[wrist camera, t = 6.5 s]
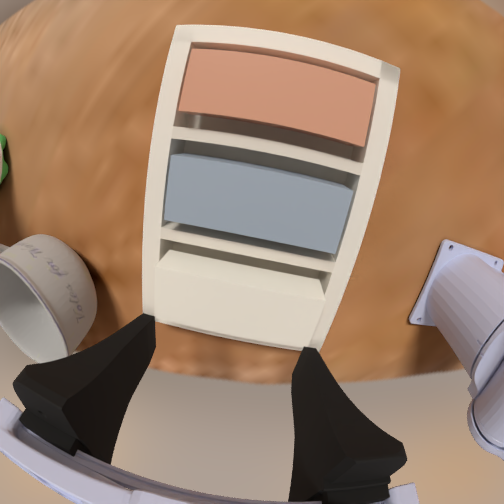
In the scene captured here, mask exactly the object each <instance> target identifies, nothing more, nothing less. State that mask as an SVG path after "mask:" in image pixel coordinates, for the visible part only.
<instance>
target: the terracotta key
mask: <svg viewBox="0 0 504 504" xmlns="http://www.w3.org/2000/svg"><path fill="white" fill-rule="evenodd" d="M375 86H376V84H374V83H371V82H368V81H365V80H362V79H359V78H356V77H353V76H350V75H347V74H344V73H341V72H337V71H334V70H330V69H327V68H323V67H319V66H315V65H311V64H307V63H303V62H298V61H293V60H289V59H283V58H278V57H272V56H266V55H260V54H253V53H245V52H236V51H226V50H212V49H192V51H191V55H190V59H189V63H188V67H187V71H186V76H185V80H184V85H183V90H182V95H181V100H180V105H179V110H178V111H181V112H184V113H188V114H191V115H198V116H207V117H215V118H223V119H230V120H237V121H243V122H249V123H255V124H261V125H266V126H271V127H276V128H281V129H286V130H291V131H295V132H299V133H304V134H308V135H312V136H316V137H320V138H324V139H327V140H331V141H335V142H338V143H342V144H345V145H349V146H357V147H364V145H365V140H366V135H367V130H368V125H369V120H370V115H371V110H372V104H373V98H374V92H375Z"/></svg>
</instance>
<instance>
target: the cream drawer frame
mask: <svg viewBox="0 0 504 504" xmlns="http://www.w3.org/2000/svg"><path fill="white" fill-rule="evenodd" d="M192 49H212V50H226V51H236V52H245V53H253V54H260V55H266V56H272V57H278V58H283V59H289V60H293V61H298V62H303V63H307V64H311V65H315V66H319V67H323V68H327V69H330V70H334V71H337V72H341V73H344V74H347V75H350V76H353V77H356V78H359V79H362V80H365V81H368V82H371V83H374V84H376V86H375V92H374V98H373V104H372V110H371V115H370V120H369V125H368V130H367V135H366V140H365V145H364V147H357V146H349V145H345V144H342V143H338V142H335V141H331V140H327V139H324V138H320V137H316V136H312V135H308V134H304V133H299V132H295V131H291V130H286V129H281V128H276V127H271V126H266V125H261V124H255V123H249V122H243V121H237V120H230V119H223V118H215V117H207V116H198V115H191V114H188V113H184V112H181V111H178V110H179V105H180V100H181V95H182V90H183V85H184V80H185V76H186V71H187V67H188V63H189V59H190V55H191V51H192ZM399 76H400V68H398V67H395V66H393V65H391V64H388V63H386V62H383V61H381V60H378V59H376V58H373V57H370V56H368V55H365V54H362V53H359V52H356V51H353V50H350V49H347V48H343V47H340V46H337V45H333V44H330V43H326V42H322V41H318V40H314V39H310V38H306V37H301V36H296V35H291V34H286V33H281V32H275V31H268V30H261V29H253V28H245V27H234V26H219V25H176V28H175V32H174V35H173V39H172V42H171V46H170V50H169V54H168V58H167V62H166V66H165V70H164V75H163V79H162V84H161V89H160V94H159V99H158V104H157V109H156V115H155V121H154V127H153V134H152V141H151V148H150V156H149V164H148V173H147V183H146V194H145V207H144V223H143V249H142V299H143V313H145V314H148V315H152V316H154V285H155V266H156V265H157V263H158V262H159V261H160V260H161V259H162V258H163V257H164V255H165V254H166V253H167V252H168V251H169V250H174V251H179V252H183V253H188V254H193V255H198V256H203V257H208V258H212V259H217V260H222V261H227V262H232V263H237V264H242V265H247V266H252V267H257V268H262V269H267V270H272V271H277V272H282V273H288V274H293V275H298V276H303V277H308V278H314V279H319V280H320V283H321V286H322V290H323V293H324V296H325V300H326V302H325V304H324V307H323V310H322V312H321V315H320V318H319V320H318V323H317V325H316V328H315V330H314V333H313V335H312V338H311V340H310V343H309V345H308V347H312V348H316V349H317V351H318V352H319V351H320V349H321V347H322V345H323V342H324V340H325V338H326V336H327V333H328V331H329V329H330V326H331V324H332V321H333V319H334V317H335V314H336V312H337V309H338V307H339V304H340V302H341V299H342V296H343V294H344V291H345V288H346V286H347V283H348V280H349V278H350V275H351V272H352V269H353V266H354V264H355V261H356V258H357V255H358V252H359V249H360V246H361V243H362V240H363V236H364V233H365V230H366V227H367V223H368V220H369V217H370V213H371V210H372V206H373V203H374V199H375V196H376V192H377V188H378V184H379V180H380V176H381V172H382V168H383V164H384V160H385V155H386V151H387V146H388V141H389V136H390V131H391V126H392V121H393V115H394V110H395V104H396V97H397V91H398V83H399ZM182 153H190V154H197V155H204V156H211V157H217V158H223V159H230V160H235V161H241V162H247V163H252V164H257V165H263V166H268V167H272V168H277V169H282V170H287V171H291V172H296V173H300V174H304V175H309V176H313V177H317V178H321V179H325V180H329V181H333V182H337V183H340V184H343V185H345V186H346V187H348V188H349V189H351V190H353V195H352V199H351V202H350V206H349V210H348V213H347V217H346V220H345V224H344V227H343V231H342V234H341V237H340V241H339V244H338V247H337V251H336V254H332V253H328V252H323V251H318V250H313V249H309V248H304V247H299V246H294V245H289V244H285V243H280V242H275V241H270V240H265V239H260V238H255V237H250V236H245V235H240V234H235V233H230V232H225V231H220V230H214V229H209V228H204V227H199V226H194V225H188V224H183V223H178V222H173V221H167V220H164V214H165V203H166V193H167V184H168V176H169V168H170V160H171V155H175V154H182ZM155 321H157V322H161V323H165V324H168V325H172V326H176V327H180V328H184V329H188V330H193V331H197V332H201V333H206V334H210V335H215V336H219V337H224V338H229V339H234V340H239V341H244V342H250V343H255V344H261V345H267V346H273V347H279V348H285V349H292V350H299V351H302V350H303V348H300V347H293V346H287V345H280V344H274V343H268V342H262V341H257V340H251V339H246V338H241V337H235V336H230V335H226V334H221V333H216V332H211V331H207V330H202V329H198V328H194V327H190V326H185V325H181V324H177V323H173V322H169V321H166V320H162V319H158V318H155Z"/></svg>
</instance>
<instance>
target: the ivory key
mask: <svg viewBox="0 0 504 504" xmlns="http://www.w3.org/2000/svg"><path fill="white" fill-rule="evenodd" d="M325 302H326V300H325V296H324V293H323V290H322V286H321V283H320V280H319V279H314V278H308V277H303V276H298V275H293V274H288V273H282V272H277V271H272V270H267V269H262V268H257V267H252V266H247V265H242V264H237V263H232V262H227V261H222V260H217V259H212V258H208V257H203V256H198V255H193V254H188V253H183V252H179V251H174V250H169V251H168V252H167V253H166V254H165V255H164V257H163V258H162V259H161V260H160V261H159V262H158V263H157V265H156V266H155V285H154V316H155V318H158V319H162V320H166V321H169V322H173V323H177V324H181V325H185V326H190V327H194V328H198V329H202V330H207V331H211V332H216V333H221V334H226V335H230V336H235V337H241V338H246V339H251V340H257V341H262V342H268V343H274V344H280V345H287V346H293V347H300V348H303V347H308V345H309V343H310V340H311V338H312V335H313V333H314V330H315V328H316V325H317V323H318V320H319V318H320V315H321V312H322V310H323V307H324V304H325Z"/></svg>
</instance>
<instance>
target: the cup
mask: <svg viewBox="0 0 504 504" xmlns="http://www.w3.org/2000/svg"><path fill="white" fill-rule="evenodd" d="M5 145H6V138H5V136H3V135H1V134H0V184H1V182H2V180H3V179H4V178H5V176H6V175H7V173H8V165H7V163H6V162H5V161H4V158H3V149H4V147H5Z"/></svg>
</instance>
